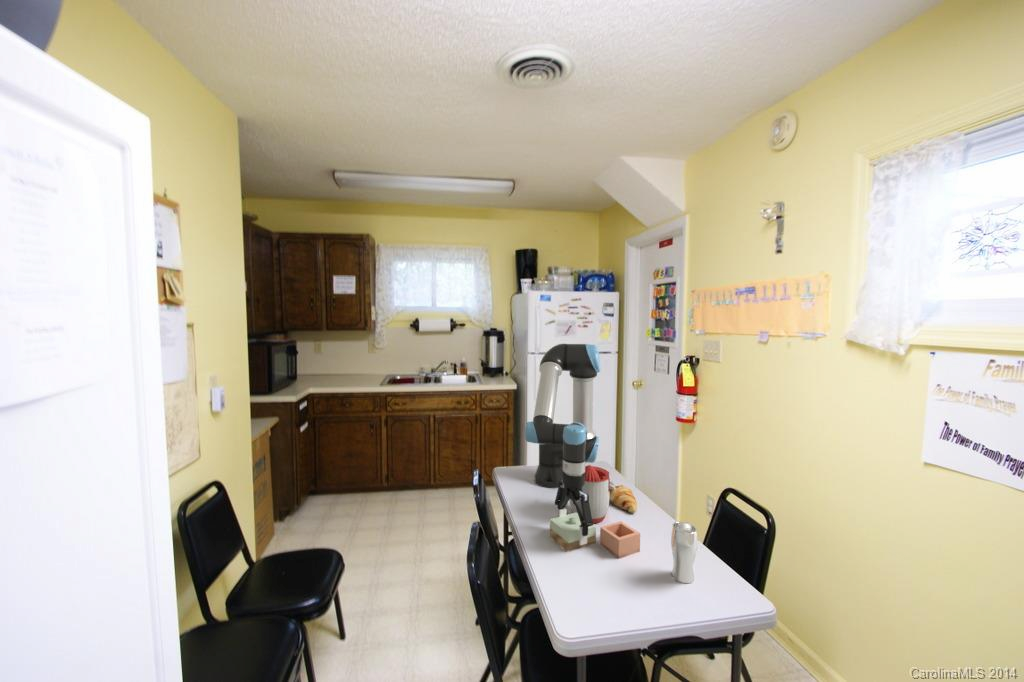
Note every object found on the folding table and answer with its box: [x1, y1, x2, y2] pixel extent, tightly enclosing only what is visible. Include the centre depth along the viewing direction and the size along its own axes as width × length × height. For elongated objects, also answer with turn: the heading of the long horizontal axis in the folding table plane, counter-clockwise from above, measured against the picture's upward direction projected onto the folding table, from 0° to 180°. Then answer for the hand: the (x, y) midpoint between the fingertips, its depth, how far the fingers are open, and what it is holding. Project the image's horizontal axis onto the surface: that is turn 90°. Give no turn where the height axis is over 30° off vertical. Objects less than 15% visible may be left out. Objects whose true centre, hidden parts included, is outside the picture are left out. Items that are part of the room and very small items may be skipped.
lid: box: [549, 512, 597, 543], centre depth 140 cm, size 11×11×4 cm
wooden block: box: [548, 527, 597, 552], centre depth 140 cm, size 10×12×3 cm
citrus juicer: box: [569, 464, 616, 524], centre depth 156 cm, size 16×17×20 cm
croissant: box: [609, 484, 638, 514], centre depth 168 cm, size 21×10×8 cm, turn 13°
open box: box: [599, 520, 641, 560], centre depth 136 cm, size 9×9×6 cm
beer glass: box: [670, 521, 698, 584], centre depth 120 cm, size 7×7×15 cm
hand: (572, 535), depth 140 cm, fingers closed on lid, 11 cm apart
